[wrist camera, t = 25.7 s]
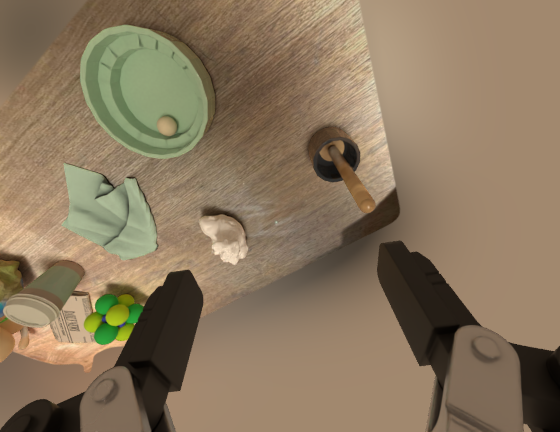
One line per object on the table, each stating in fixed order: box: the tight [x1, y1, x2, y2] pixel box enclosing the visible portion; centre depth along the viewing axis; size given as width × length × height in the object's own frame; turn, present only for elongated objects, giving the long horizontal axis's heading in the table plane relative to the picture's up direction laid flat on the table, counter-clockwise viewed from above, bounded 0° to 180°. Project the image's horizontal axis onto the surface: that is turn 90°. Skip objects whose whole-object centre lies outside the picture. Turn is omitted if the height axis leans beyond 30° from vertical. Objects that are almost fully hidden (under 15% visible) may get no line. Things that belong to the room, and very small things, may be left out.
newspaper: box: [50, 291, 96, 343], centre depth 64 cm, size 23×12×2 cm, turn 163°
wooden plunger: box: [319, 140, 375, 213], centre depth 32 cm, size 4×4×20 cm
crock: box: [308, 127, 360, 182], centre depth 38 cm, size 7×7×6 cm
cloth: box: [62, 163, 158, 260], centre depth 46 cm, size 20×22×2 cm
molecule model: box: [84, 294, 144, 345], centre depth 56 cm, size 9×9×9 cm
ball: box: [157, 116, 177, 136], centre depth 36 cm, size 3×3×3 cm
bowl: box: [80, 25, 215, 159], centre depth 33 cm, size 15×15×6 cm
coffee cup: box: [3, 260, 84, 328], centre depth 50 cm, size 8×8×12 cm
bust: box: [199, 214, 248, 265], centre depth 45 cm, size 12×8×11 cm
